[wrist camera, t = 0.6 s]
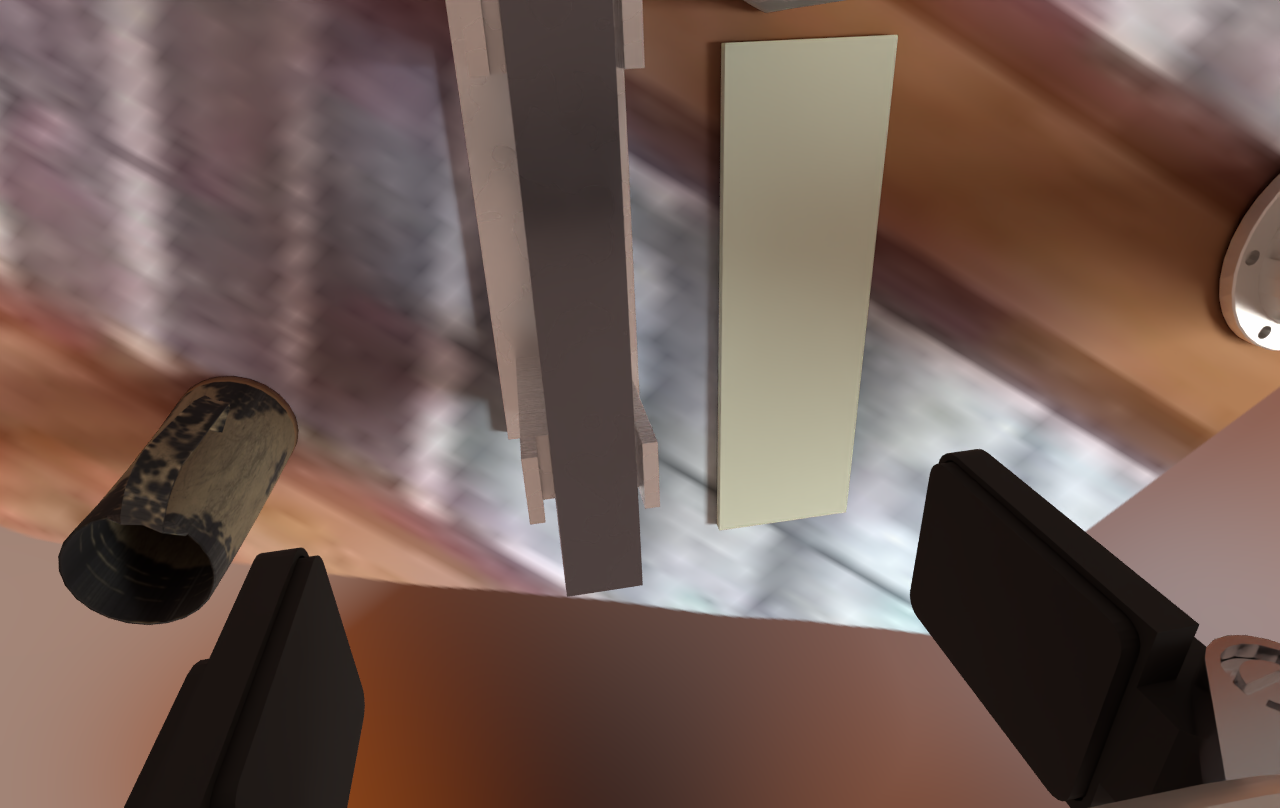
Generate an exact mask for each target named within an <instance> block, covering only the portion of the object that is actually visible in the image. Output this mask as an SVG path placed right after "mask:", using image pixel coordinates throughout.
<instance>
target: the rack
mask: <svg viewBox="0 0 1280 808" xmlns="http://www.w3.org/2000/svg"><path fill="white" fill-rule="evenodd" d="M445 1H446V8H447V15H448V22H449V29H450V36H451V43H452V50H453V57H454V64H455V71H456V78H457V85H458V92H459V99H460V106H461V112H462V119H463V126H464V133H465V140H466V147H467V154H468V161H469V168H470V175H471V182H472V189H473V196H474V203H475V210H476V217H477V224H478V231H479V237H480V244H481V251H482V258H483V265H484V272H485V279H486V286H487V293H488V300H489V307H490V314H491V321H492V328H493V335H494V342H495V349H496V356H497V362H498V369H499V376H500V383H501V390H502V397H503V404H504V411H505V418H506V425H507V432H508V439H517V438H520V445H521V461H522V468H523V475H524V483H525V490H526V497H527V505H528V512H529V519H530V524H537V523H544V522H545V512H544V502H543V500H545V499H552V498H555V491H554V482H553V473H552V465H551V456H550V447H549V439H548V430H547V421H546V412H545V404H544V395H543V386H542V377H541V369H540V360H539V351H538V343H537V334H536V325H535V316H534V308H533V299H532V290H531V282H530V273H529V264H528V255H527V247H526V238H525V229H524V220H523V212H522V203H521V194H520V186H519V177H518V168H517V159H516V151H515V142H514V133H513V125H512V116H511V107H510V98H509V90H508V81H507V72H506V63H505V55H504V46H503V37H502V29H501V20H500V11H499V2H498V0H445ZM613 16H614V36H615V55H616V75H617V94H618V114H619V133H620V153H621V173H622V192H623V212H624V231H625V251H626V270H627V290H628V309H629V329H630V348H631V368H632V388H633V407H634V427H635V446H636V466H637V485H638V487H639V490H640V494H641V497H642V500H643V503H644V506H645V509H646V508H653V507H660V495H659V466H658V442H657V439H656V437H655V434H654V432H653V429H652V427H651V424H650V422H649V419H648V417H647V414H646V412H645V409H644V407H643V405H642V402H641V400H640V397H639V379H638V357H637V336H636V314H635V293H634V272H633V250H632V229H631V207H630V186H629V164H628V143H627V122H626V100H625V79H624V69H636V68H645V63H644V34H643V5H642V0H613Z"/></svg>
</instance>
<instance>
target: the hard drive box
mask: <svg viewBox="0 0 1280 808" xmlns="http://www.w3.org/2000/svg"><path fill="white" fill-rule="evenodd" d="M744 1H745V2H747V3H749V4H750V5H752V6H753V7H755V8H757V9H759V10H761V11H763V12H765V13H768V12H775V11H781V10H786V9H792V8H798V7H804V6H813V5H818V4H825V3H830V2H838V1H844V0H744Z"/></svg>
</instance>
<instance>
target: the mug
mask: <svg viewBox="0 0 1280 808" xmlns="http://www.w3.org/2000/svg"><path fill="white" fill-rule="evenodd" d="M297 439H298V425H297V421H296V417H295V415H294V413H293V411H292V409H291V408H290V406H289V404H288V403H287V402H286V401H285V400H284V399H283V398H282V397H281V396H280V395H279V394H278V393H277V392H275V391H274V390H272V389H271V388H269V387H268V386H266V385H264V384H261V383H259V382H256V381H254V380H251V379H247V378H242V377H236V376H225V377H215V378H211V379H208V380H204V381H202V382H200V383H198V384H197V385H195V386H193V387H192V388H190V389H189V390H188V391H187V393H186V394H185V395H184V396H183V397H182V398H181V399H180V401H179V402H178V404H177V405H176V406H175V408H174V409H173V411H172V412H171V413H170V415H169V416H168V418H167V419H166V420H165V422H164V423H163V425H162V426H161V427H160V429H159V430H158V431H157V433H156V434H155V435H154V436H153V438H152V439H151V440H150V442H149V443H148V444H147V445H146V447H145V448H144V449H143V451H142V452H141V453H140V454H139V456H138V457H137V458H136V459H135V461H134V462H133V463H132V465H131V466H130V467H129V468H128V470H127V471H126V472H125V473H124V474H123V476H122V477H121V478H120V479H119V480H118V481H117V483H116V484H115V485H114V486H113V487H112V489H111V490H110V491H109V492H108V493H107V494H106V496H105V497H104V498H103V499H102V500H101V501H100V503H99V504H98V505H97V506H96V507H95V508H94V509H93V510H92V511H91V513H90V514H89V515H88V516H87V517H86V518H85V519H84V520H83V521H82V522H81V523H80V524H79V525H78V526H77V528H76V529H75V530H74V531H73V532H72V533H71V534H70V535H69V536H68V538H67V539H66V540H65V541H64V542H63V545H62V548H61V550H60V553H59V556H58V558H59V572H60V575H61V576H62V579H63V582H64V584H65V586H66V587H67V588H68V589H69V591H70V592H71V593H72V594H73V595H74V597H75V598H76V599H77V600H79V601H80V602H81V603H83V604H84V605H85V606H87V607H88V608H89V609H91V610H93V611H95V612H97V613H99V614H101V615H103V616H106V617H108V618H111V619H114V620H118V621H122V622H126V623H132V624H144V625H153V624H163V623H169V622H173V621H176V620H179V619H183V618H185V617H187V616H189V615H190V614H192V613H194V612H196V611H197V610H199V609H200V608H201V607H202V606H203V605H204V604H205V603H206V602H207V601H208V600H209V599H210V597H211V595H212V594H213V592H214V590H215V589H216V587H217V586H218V584H219V582H220V581H221V579H222V577H223V576H224V574H225V572H226V571H227V569H228V567H229V565H230V564H231V562H232V561H233V559H234V557H235V555H236V554H237V552H238V550H239V548H240V547H241V545H242V543H243V541H244V540H245V538H246V536H247V534H248V533H249V531H250V529H251V528H252V526H253V524H254V522H255V520H256V519H257V517H258V515H259V513H260V511H261V509H262V508H263V506H264V504H265V502H266V500H267V499H268V497H269V495H270V493H271V491H272V489H273V488H274V486H275V484H276V482H277V480H278V478H279V476H280V474H281V472H282V471H283V469H284V467H285V465H286V463H287V461H288V459H289V457H290V456H291V454H292V452H293V450H294V448H295V446H296V444H297Z"/></svg>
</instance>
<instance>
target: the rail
mask: <svg viewBox="0 0 1280 808" xmlns="http://www.w3.org/2000/svg"><path fill="white" fill-rule="evenodd" d="M498 2H499V11H500V20H501V29H502V37H503V46H504V55H505V63H506V72H507V81H508V90H509V98H510V107H511V116H512V125H513V133H514V142H515V151H516V159H517V168H518V177H519V186H520V194H521V203H522V212H523V220H524V229H525V238H526V247H527V255H528V264H529V273H530V282H531V290H532V299H533V308H534V316H535V325H536V334H537V343H538V351H539V360H540V369H541V377H542V386H543V395H544V404H545V412H546V421H547V430H548V439H549V447H550V456H551V465H552V473H553V482H554V491H555V500H556V508H557V517H558V526H559V535H560V543H561V551H562V559H563V567H564V575H565V583H566V591H567V597H568V596H575V595H581V594H588V593H594V592H601V591H607V590H614V589H620V588H627V587H634V586H640V585H643V583H642V563H641V544H640V524H639V505H638V485H637V466H636V446H635V427H634V407H633V388H632V368H631V348H630V329H629V309H628V290H627V270H626V251H625V231H624V212H623V192H622V173H621V153H620V133H619V114H618V94H617V75H616V55H615V36H614V16H613V0H498Z"/></svg>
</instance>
